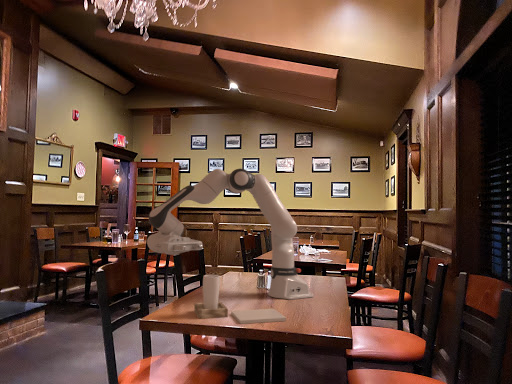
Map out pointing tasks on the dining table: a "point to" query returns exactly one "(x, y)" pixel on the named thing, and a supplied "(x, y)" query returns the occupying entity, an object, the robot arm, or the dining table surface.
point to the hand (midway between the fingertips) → (192, 247)
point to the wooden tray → (210, 311)
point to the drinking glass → (211, 291)
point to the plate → (257, 316)
